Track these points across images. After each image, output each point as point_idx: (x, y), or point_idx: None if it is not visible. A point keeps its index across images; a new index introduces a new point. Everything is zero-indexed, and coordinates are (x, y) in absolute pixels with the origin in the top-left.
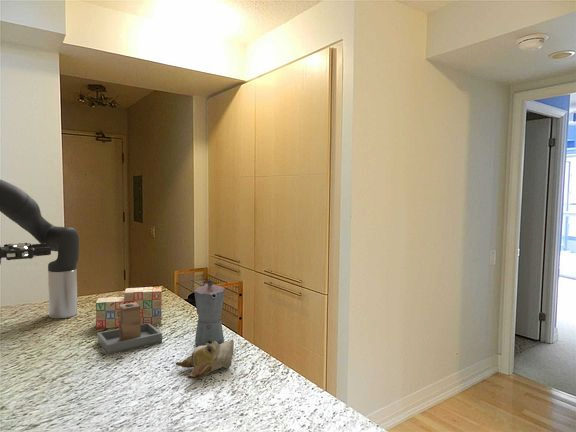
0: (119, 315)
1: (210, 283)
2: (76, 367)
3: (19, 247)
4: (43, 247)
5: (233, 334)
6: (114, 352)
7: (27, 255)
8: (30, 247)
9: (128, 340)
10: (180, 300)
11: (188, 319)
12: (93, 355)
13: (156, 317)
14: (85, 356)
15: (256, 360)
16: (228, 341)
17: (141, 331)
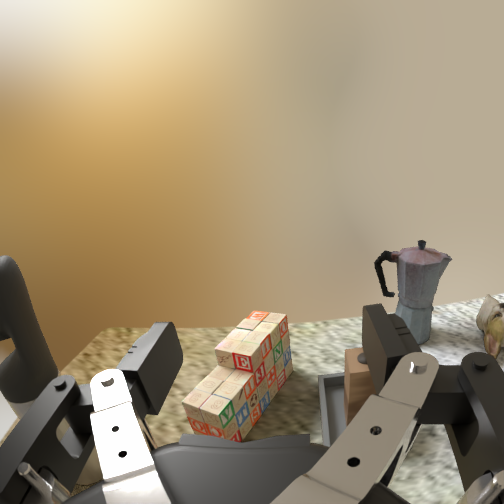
0: (352, 391)
1: (425, 243)
2: (445, 492)
3: (398, 450)
4: (372, 323)
5: (392, 313)
6: None
7: (411, 439)
8: (137, 397)
9: None
10: (194, 328)
11: (297, 339)
12: (398, 471)
13: (288, 364)
14: (396, 484)
15: (474, 308)
16: (489, 298)
17: (325, 395)
